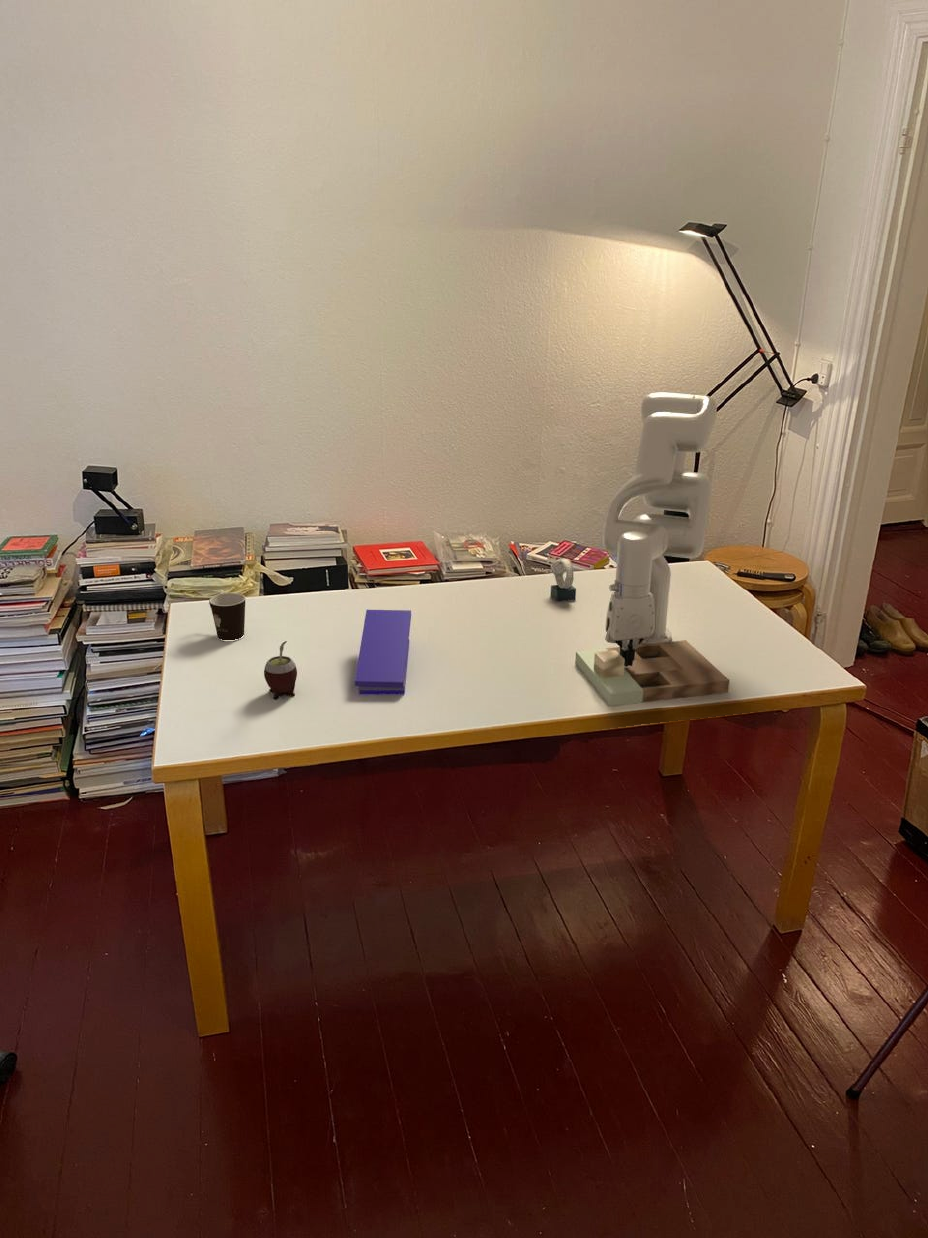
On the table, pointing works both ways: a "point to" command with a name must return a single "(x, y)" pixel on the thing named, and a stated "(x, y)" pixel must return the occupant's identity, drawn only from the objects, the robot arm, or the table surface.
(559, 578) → the white knot sculpture
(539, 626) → the table surface
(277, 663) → the mate gourd
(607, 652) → the maple block
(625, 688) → the pad
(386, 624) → the layered purple block
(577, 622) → the table surface
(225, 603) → the coffee mug
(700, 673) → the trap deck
